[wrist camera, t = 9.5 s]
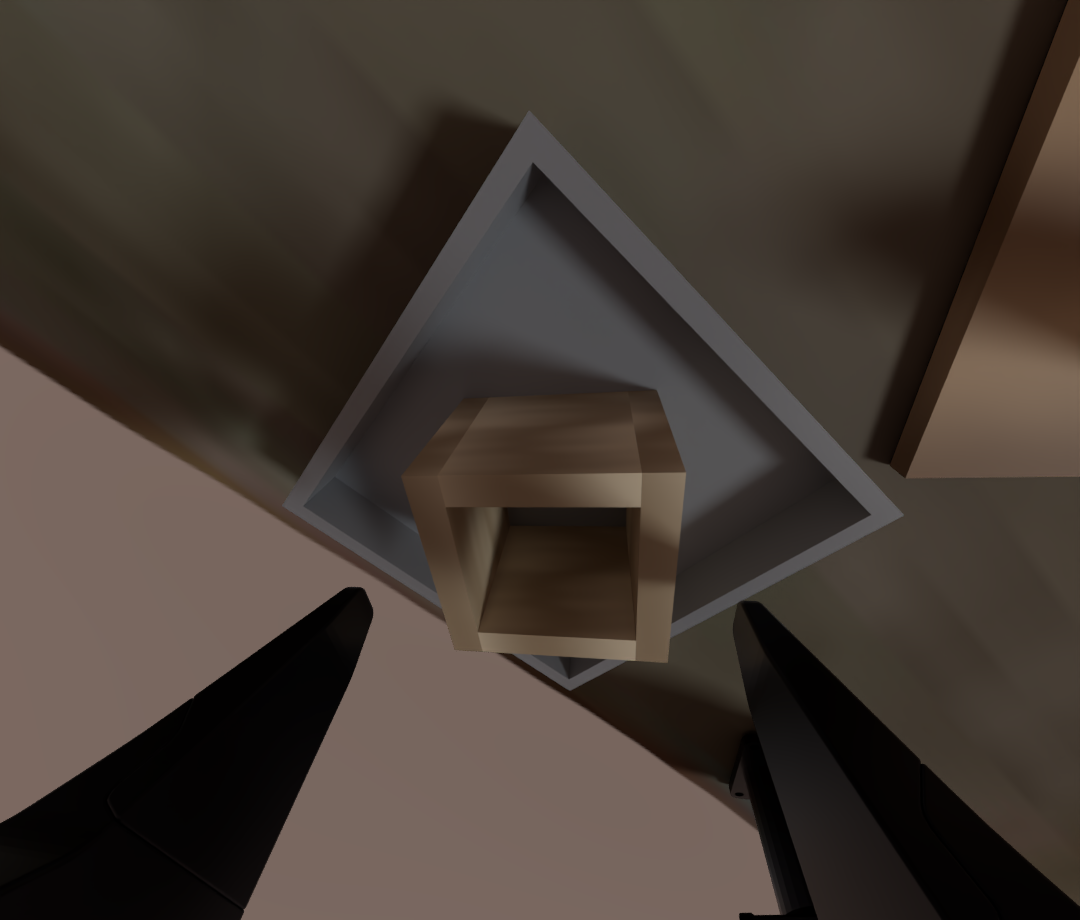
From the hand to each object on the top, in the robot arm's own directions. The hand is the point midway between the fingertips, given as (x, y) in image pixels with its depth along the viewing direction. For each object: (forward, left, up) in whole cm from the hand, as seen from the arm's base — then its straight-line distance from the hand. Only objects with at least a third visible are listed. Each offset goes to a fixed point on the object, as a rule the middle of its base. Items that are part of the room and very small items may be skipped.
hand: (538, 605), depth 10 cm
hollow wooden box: (0, 0, -6) cm, 6 cm away
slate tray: (0, 0, -6) cm, 6 cm away
